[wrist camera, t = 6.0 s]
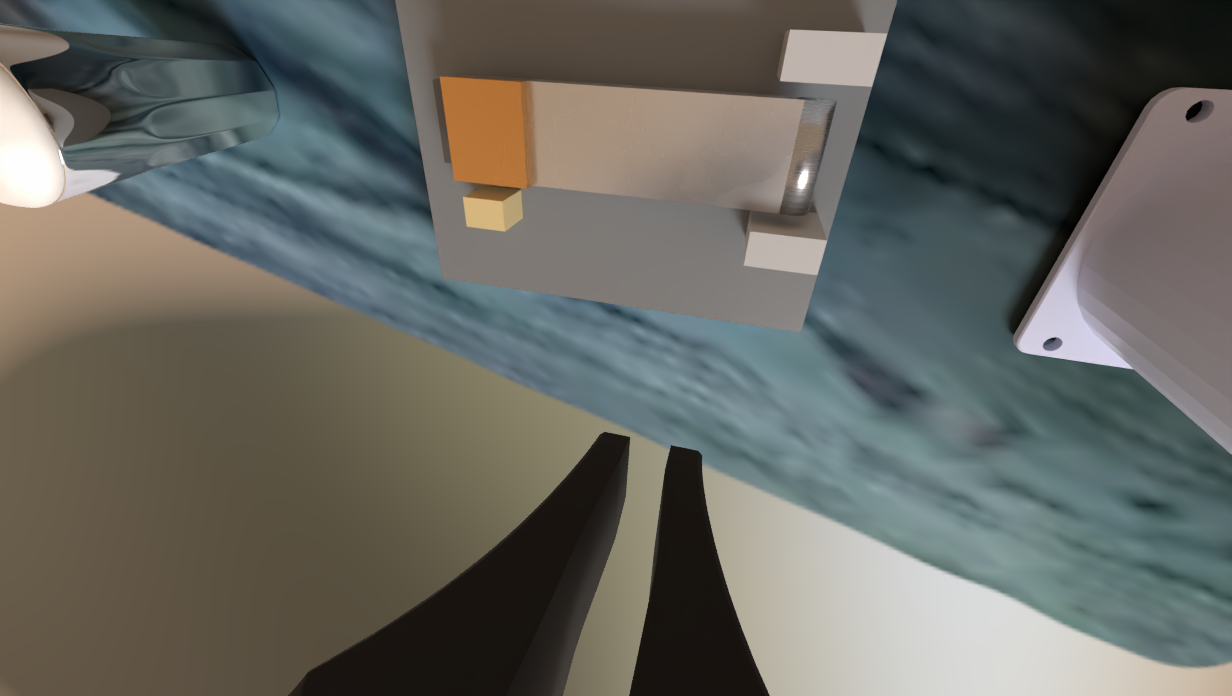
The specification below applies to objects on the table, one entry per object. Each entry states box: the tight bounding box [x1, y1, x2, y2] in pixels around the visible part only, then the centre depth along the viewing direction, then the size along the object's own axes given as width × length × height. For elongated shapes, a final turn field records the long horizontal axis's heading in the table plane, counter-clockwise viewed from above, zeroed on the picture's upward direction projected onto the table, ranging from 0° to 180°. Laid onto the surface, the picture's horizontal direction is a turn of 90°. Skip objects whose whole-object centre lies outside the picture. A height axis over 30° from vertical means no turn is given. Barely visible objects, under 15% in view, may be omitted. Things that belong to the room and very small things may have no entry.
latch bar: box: [440, 74, 837, 216], centre depth 14 cm, size 10×3×1 cm, turn 90°
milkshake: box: [0, 24, 279, 208], centre depth 15 cm, size 5×5×10 cm
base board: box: [395, 0, 897, 332], centre depth 15 cm, size 14×12×4 cm
